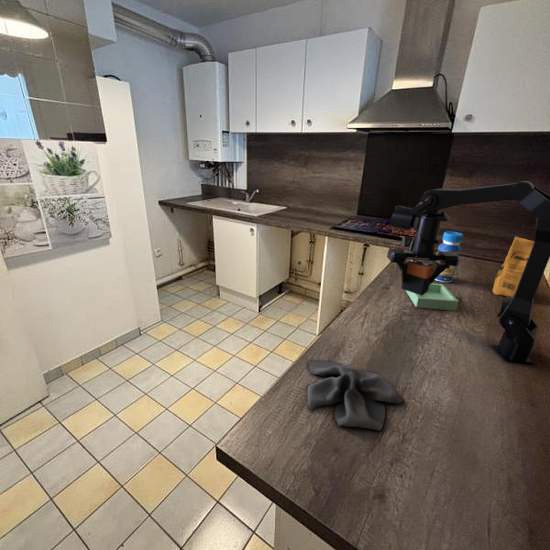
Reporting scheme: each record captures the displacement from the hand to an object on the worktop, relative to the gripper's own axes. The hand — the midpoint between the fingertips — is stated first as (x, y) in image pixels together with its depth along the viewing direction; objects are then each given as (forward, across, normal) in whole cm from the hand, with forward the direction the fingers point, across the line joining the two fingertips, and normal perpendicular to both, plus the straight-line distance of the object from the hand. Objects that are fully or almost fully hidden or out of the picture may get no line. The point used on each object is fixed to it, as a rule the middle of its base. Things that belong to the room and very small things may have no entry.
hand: (415, 283), depth 90 cm
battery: (+3, 0, 0) cm, 3 cm away
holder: (+12, -11, -14) cm, 21 cm away
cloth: (+12, +24, +36) cm, 45 cm away
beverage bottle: (+12, -23, -34) cm, 43 cm away
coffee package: (+12, -44, -23) cm, 51 cm away
